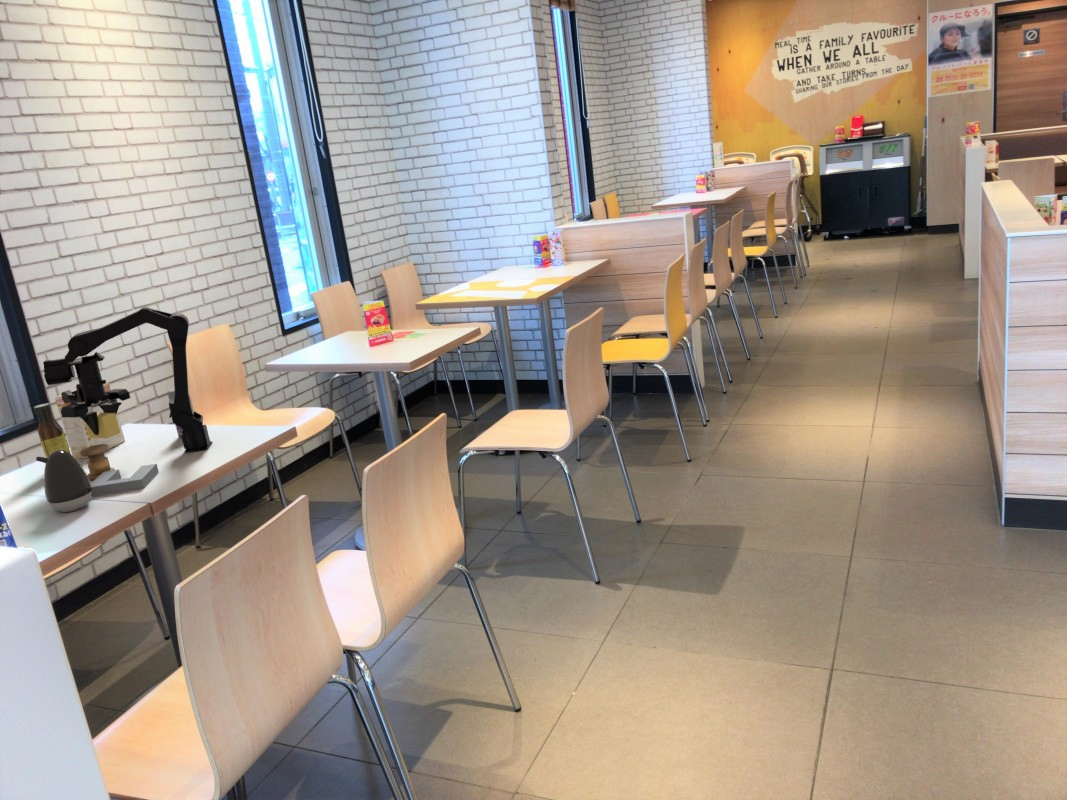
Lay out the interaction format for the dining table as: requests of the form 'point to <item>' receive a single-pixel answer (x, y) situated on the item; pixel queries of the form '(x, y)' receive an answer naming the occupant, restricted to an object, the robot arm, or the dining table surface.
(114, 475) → the gray u-shaped block
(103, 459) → the ball
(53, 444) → the sauce bottle
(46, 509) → the dining table surface
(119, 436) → the coffeecake box
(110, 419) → the tab
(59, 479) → the pump dispenser
